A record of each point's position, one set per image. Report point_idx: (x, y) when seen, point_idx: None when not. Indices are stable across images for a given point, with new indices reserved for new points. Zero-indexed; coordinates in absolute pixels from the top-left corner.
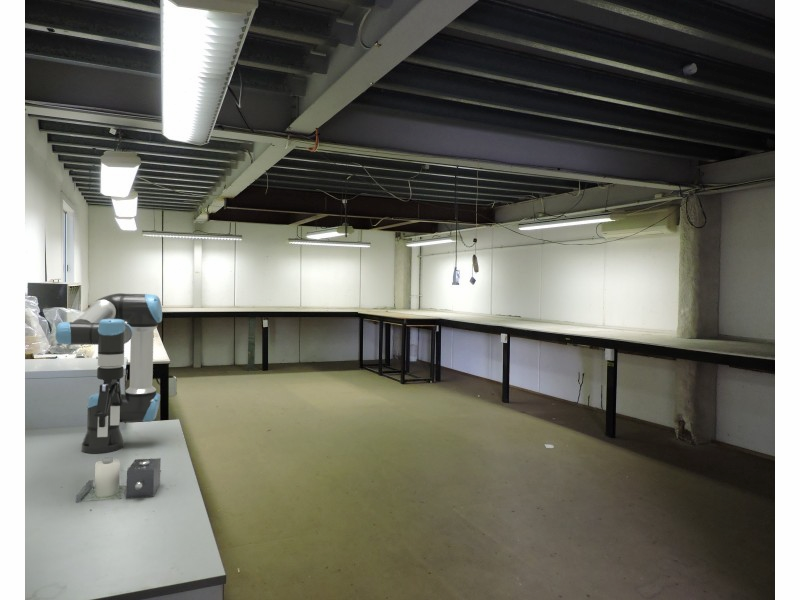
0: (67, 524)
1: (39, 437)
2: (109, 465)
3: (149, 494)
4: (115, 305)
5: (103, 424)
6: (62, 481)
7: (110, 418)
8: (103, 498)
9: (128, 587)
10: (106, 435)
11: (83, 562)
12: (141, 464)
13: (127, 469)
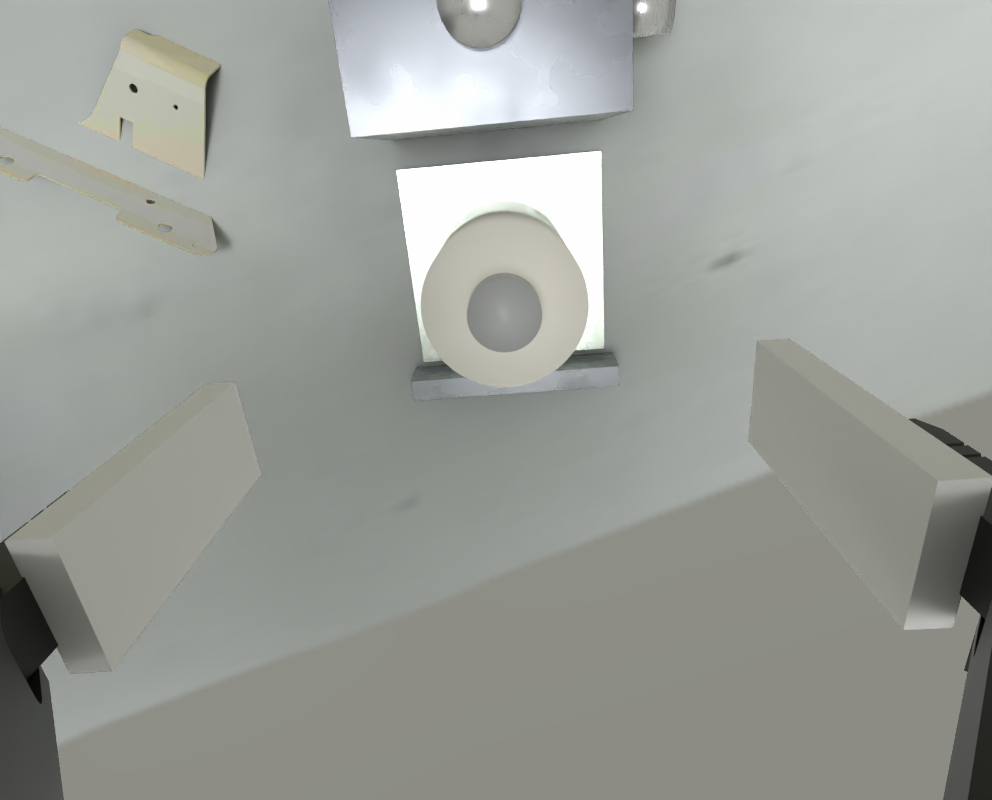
0: (883, 304)
1: None
2: (579, 269)
3: None
4: None
5: (954, 444)
6: (339, 527)
7: (219, 524)
8: (590, 251)
9: None
10: (798, 348)
11: None
12: (518, 16)
13: (209, 252)
